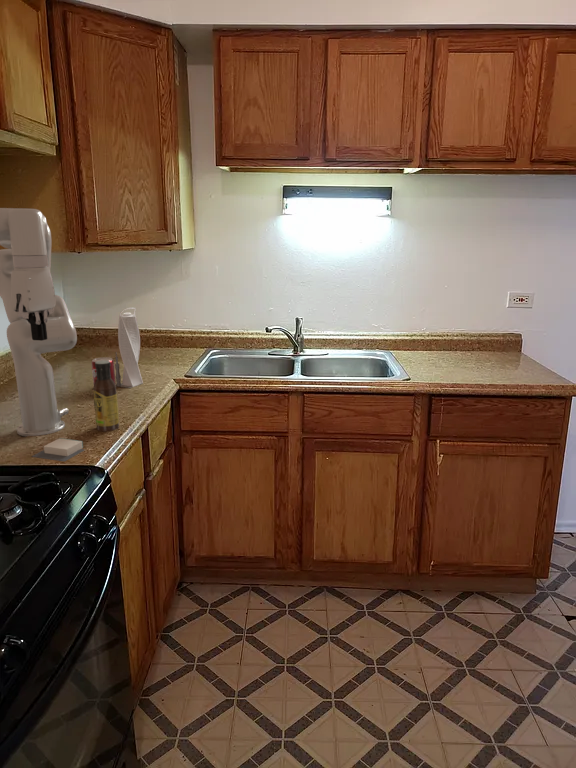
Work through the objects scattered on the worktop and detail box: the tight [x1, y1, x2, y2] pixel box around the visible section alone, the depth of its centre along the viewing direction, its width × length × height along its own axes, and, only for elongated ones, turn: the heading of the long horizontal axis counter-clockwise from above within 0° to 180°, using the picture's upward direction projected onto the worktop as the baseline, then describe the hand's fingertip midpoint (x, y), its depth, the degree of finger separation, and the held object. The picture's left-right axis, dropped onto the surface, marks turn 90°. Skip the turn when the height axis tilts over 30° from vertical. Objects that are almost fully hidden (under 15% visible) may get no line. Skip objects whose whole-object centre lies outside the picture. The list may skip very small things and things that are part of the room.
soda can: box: [91, 357, 117, 385], centre depth 198 cm, size 7×7×12 cm
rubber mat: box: [31, 448, 85, 462], centre depth 146 cm, size 8×10×1 cm
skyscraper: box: [114, 307, 144, 389], centre depth 207 cm, size 8×8×28 cm
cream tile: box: [43, 437, 84, 456], centre depth 147 cm, size 7×2×6 cm
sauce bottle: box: [92, 360, 120, 432], centre depth 161 cm, size 6×6×20 cm
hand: (39, 339), depth 141 cm, fingers closed
